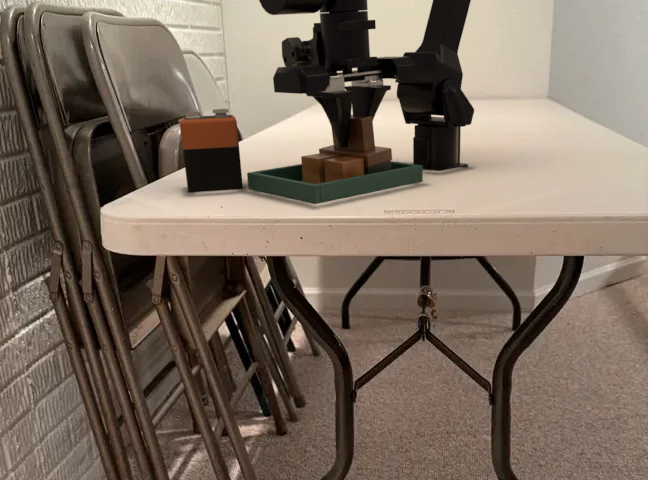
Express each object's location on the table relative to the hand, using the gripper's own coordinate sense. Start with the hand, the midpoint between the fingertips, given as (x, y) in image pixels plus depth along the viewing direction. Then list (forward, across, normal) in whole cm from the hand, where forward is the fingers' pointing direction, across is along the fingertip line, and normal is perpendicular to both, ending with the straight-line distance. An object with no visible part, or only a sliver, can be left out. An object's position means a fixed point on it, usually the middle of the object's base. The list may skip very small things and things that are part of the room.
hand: (351, 145), depth 91 cm
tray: (+5, +3, 0) cm, 6 cm away
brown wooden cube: (+4, +4, -2) cm, 6 cm away
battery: (+5, +14, -11) cm, 18 cm away
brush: (+4, -1, 0) cm, 4 cm away
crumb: (+4, +4, +2) cm, 6 cm away
